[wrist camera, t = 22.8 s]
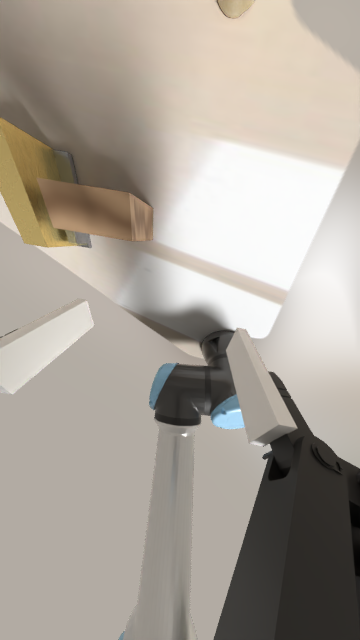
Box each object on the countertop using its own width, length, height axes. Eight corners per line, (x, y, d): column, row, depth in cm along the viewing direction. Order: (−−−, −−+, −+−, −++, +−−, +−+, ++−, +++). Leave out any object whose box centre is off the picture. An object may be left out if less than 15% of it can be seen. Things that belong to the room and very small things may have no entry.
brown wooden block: (152, 240, 31) (132, 241, 22) (97, 230, 31) (53, 227, 22) (153, 208, 28) (129, 192, 18) (91, 198, 28) (36, 177, 19)
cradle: (91, 247, 34) (78, 248, 30) (52, 240, 34) (34, 241, 30) (71, 154, 25) (49, 140, 21) (18, 146, 25) (-14, 130, 21)
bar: (78, 245, 33) (47, 247, 26) (59, 242, 33) (24, 243, 26) (52, 148, 24) (-4, 114, 17) (27, 144, 24) (-38, 109, 18)
